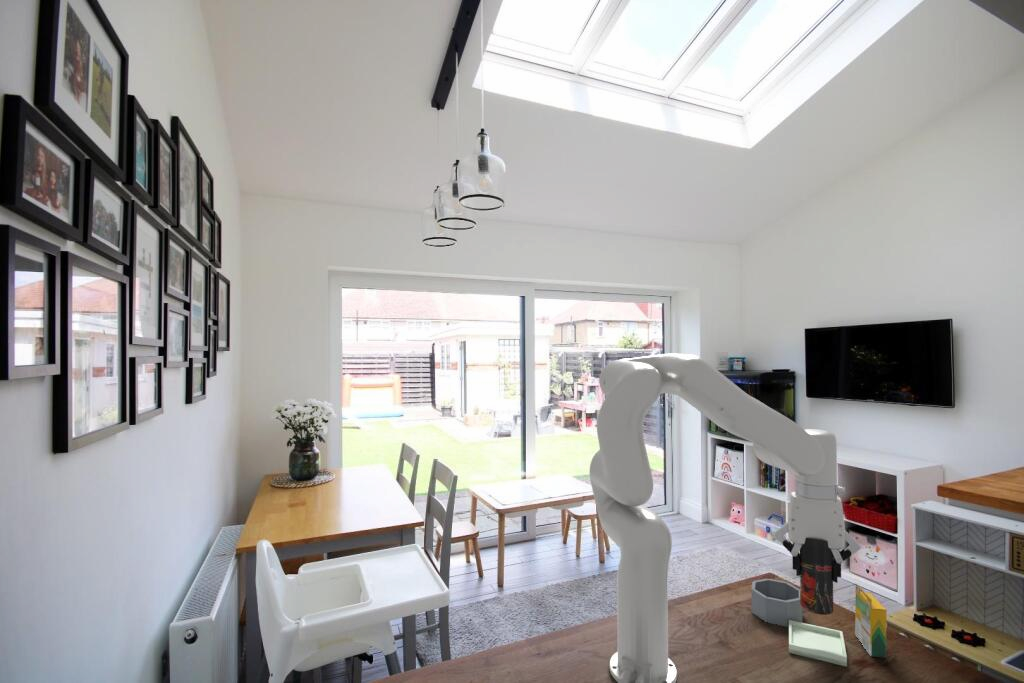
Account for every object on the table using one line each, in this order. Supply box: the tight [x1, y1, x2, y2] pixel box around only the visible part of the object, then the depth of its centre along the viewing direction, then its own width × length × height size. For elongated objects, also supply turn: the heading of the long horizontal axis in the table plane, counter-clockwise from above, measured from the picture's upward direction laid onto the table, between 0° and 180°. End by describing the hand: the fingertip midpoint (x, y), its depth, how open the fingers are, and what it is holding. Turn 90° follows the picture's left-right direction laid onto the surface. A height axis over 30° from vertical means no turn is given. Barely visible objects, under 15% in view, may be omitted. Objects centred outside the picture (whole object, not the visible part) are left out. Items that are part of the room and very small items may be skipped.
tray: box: [788, 620, 848, 667], centre depth 109 cm, size 10×10×2 cm
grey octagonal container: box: [751, 578, 804, 628], centre depth 122 cm, size 10×10×6 cm
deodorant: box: [799, 538, 834, 616], centre depth 109 cm, size 6×6×15 cm
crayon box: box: [854, 583, 888, 658], centre depth 109 cm, size 7×3×12 cm, turn 168°
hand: (816, 575), depth 109 cm, fingers closed on deodorant, 6 cm apart
